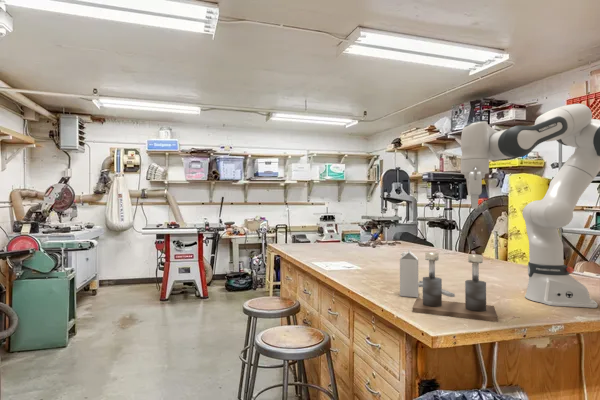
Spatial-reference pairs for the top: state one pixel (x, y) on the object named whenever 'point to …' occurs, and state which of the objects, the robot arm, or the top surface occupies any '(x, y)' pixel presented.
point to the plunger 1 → (431, 262)
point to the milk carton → (409, 274)
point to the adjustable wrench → (447, 293)
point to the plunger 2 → (475, 265)
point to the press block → (469, 309)
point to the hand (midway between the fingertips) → (474, 208)
